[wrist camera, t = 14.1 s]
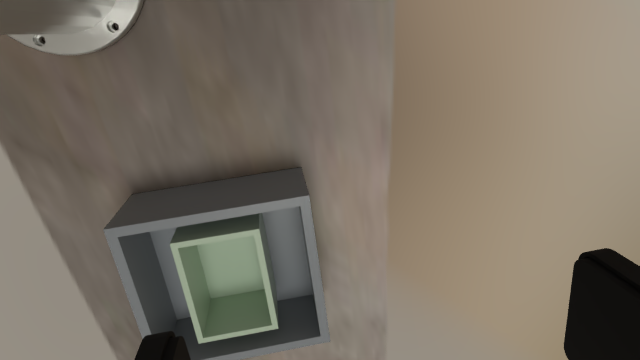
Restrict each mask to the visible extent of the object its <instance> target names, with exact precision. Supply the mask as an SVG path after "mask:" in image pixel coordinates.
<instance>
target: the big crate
mask: <svg viewBox="0 0 640 360" xmlns="http://www.w3.org/2000/svg"><path fill="white" fill-rule="evenodd" d="M258 213H262V214H263V220H264V225H265V230H266V236H267V241H268V246H269V252H270V257H271V262H272V267H273V273H274V278H275V283H276V290H277V309H278V328H279V329H274V330H269V331H264V332H258V333H253V334H248V335H242V336H237V337H232V338H227V339H221V340H216V341H211V342H205V343H200V344H199V343H198V340H197V336H196V333H195V330H194V326H193V323H192V319H191V316H190V312H189V309H188V305H187V302H186V299H185V295H184V292H183V288H182V285H181V281H180V278H179V274H178V271H177V268H176V264H175V261H174V257H173V254H172V250H171V247H170V242H171V240H172V237H173V235H174V233H175V231H176V228H177V227H181V226H187V225H193V224H199V223H205V222H210V221H216V220H222V219H228V218H234V217H240V216H246V215H252V214H258ZM103 231H104V233H105V236H106V239H107V242H108V244H109V247H110V250H111V253H112V255H113V258H114V261H115V264H116V267H117V269H118V272H119V275H120V278H121V280H122V283H123V286H124V289H125V291H126V294H127V297H128V300H129V303H130V305H131V308H132V311H133V314H134V316H135V319H136V322H137V325H138V327H139V330H140V333H141V336H142V339H143V338H144V337H145V336H146V335H151V334H157V333H162V332H167V331H173V332H174V333H175V336H176V337H177V336H183V338H184V340H185V343H186V346H187V349H188V352H189V356H190V359H191V360H240V359H245V358H250V357H255V356H260V355H265V354H270V353H275V352H280V351H285V350H290V349H295V348H300V347H305V346H310V345H315V344H320V343H326V342H330V335H329V328H328V321H327V315H326V308H325V301H324V294H323V287H322V280H321V273H320V266H319V259H318V252H317V246H316V239H315V232H314V225H313V218H312V211H311V204H310V197H309V193H308V189H307V186H306V182H305V179H304V175H303V172H302V168H301V167H299V168H293V169H286V170H280V171H274V172H268V173H262V174H255V175H249V176H243V177H237V178H231V179H224V180H218V181H212V182H206V183H200V184H193V185H187V186H181V187H175V188H169V189H162V190H156V191H150V192H144V193H137V194H132V195H131V196H130V197H129V199H128V200H127V201H126V202H125V204H124V205H123V206H122V207H121V208H120V210H119V211H118V212H117V213H116V215H115V216H114V217H113V218H112V220H111V221H110V222H109V223H108V224H107V226H106V227H105V228H104V229H103Z"/></svg>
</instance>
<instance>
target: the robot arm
mask: <svg viewBox="0 0 640 360" xmlns="http://www.w3.org/2000/svg"><path fill="white" fill-rule="evenodd" d="M143 1H144V0H0V35H8V36H9V37H11V38H13V39H14V40H16V41H18V42H20V43H22V44H23V45H25V46H28V47H31V48H33V49H36V50H39V51H41V52H46V53H51V54H56V55H83V54H90V53H93V52H96V51H100V50H103V49H105V48H107V47H109V46H111V45H112V44H114V43H116V42H117V41H118V40H120V39H121V38H122V37H123V36H124V35H125V34H126V33H128V31H129V30H130V28H131V27H132V26H133V24H134V23H135V22H136V20H137V18H138V15H139V13H140V11H141V8H142V6H143ZM115 23H116V24H118V26H119V29H118V30H115V29H114V24H115ZM43 37H44V38H45V41H46V43H44V42H43V41H42V38H43ZM564 350H565V353H566V356H567V358H568V359H569V360H640V266H638V265H636V264H635V263H633V262H632V261H630V260H628V259H627V258H625V257H623V256H622V255H620V254H619V253H617V252H616V251H613V250H611V249H607V248H605V249H600V250H594V251H589V252H584V253H582V254H581V255H580V256H579V259H578V260H577V261H576V262H575V264H574V270H573V277H572V285H571V293H570V301H569V309H568V317H567V325H566V332H565V341H564ZM135 360H191V359H190V356H189V352H188V349H187V346H186V343H185V340H184V338H183V336H177V337H176V336H175V333H174V332H173V331H167V332H162V333H157V334H151V335H146V336H145V337H144V338H143V340H142V342H141V345H140V347H139V350H138V352H137V355H136V357H135Z"/></svg>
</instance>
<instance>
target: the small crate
mask: <svg viewBox="0 0 640 360" xmlns="http://www.w3.org/2000/svg"><path fill="white" fill-rule="evenodd" d="M170 247H171V250H172V254H173V257H174V261H175V264H176V268H177V271H178V274H179V278H180V281H181V285H182V288H183V292H184V295H185V299H186V302H187V305H188V309H189V312H190V316H191V319H192V323H193V326H194V330H195V333H196V336H197V340H198V343H199V344H200V343H205V342H211V341H216V340H221V339H227V338H232V337H237V336H242V335H248V334H253V333H258V332H264V331H269V330H274V329H279V328H278V309H277V290H276V283H275V278H274V273H273V267H272V262H271V257H270V252H269V246H268V241H267V236H266V230H265V225H264V220H263V214H262V213H258V214H252V215H246V216H240V217H234V218H228V219H222V220H216V221H210V222H205V223H199V224H193V225H187V226H181V227H177V228H176V231H175V233H174V235H173V237H172V240H171V242H170Z"/></svg>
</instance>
